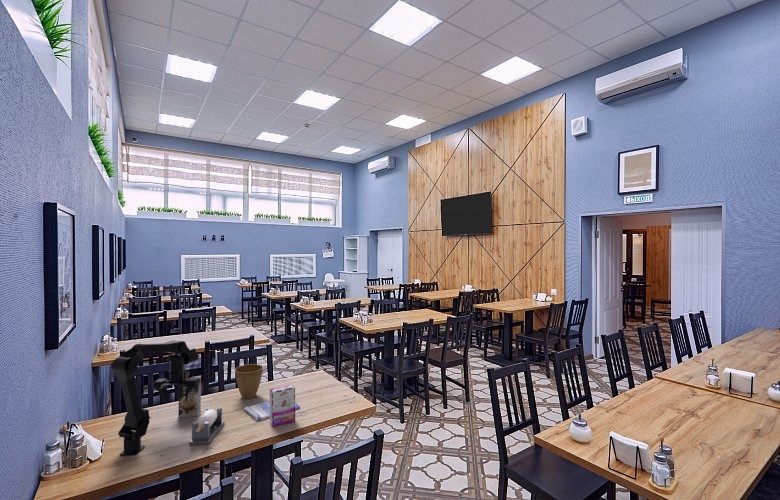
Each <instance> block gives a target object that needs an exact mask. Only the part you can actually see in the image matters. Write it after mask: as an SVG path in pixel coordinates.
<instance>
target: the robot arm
mask: <svg viewBox="0 0 780 500" xmlns="http://www.w3.org/2000/svg"><path fill="white" fill-rule="evenodd" d="M154 353H155V354H157V353H169V355H168V356H167V357H166V358H165V361H169V371H167V372H168V375H169V379H168V378H158V379H157V380H155V381H153V383H152V389H155V391H157V392H158V393H159V395H160V396H161V397H162V399H163V401H164V402H165V403H167V402H168V387H169V386H179V385H186V386H187V388H185V392H186V401H188V399H189V396H190V394H191V391H192V389H193V388H194V387H196V386H197V385H198V384H199V383H200V380H201V379H200V377H190V378H189V376H190V371H189V370H186V368H185V366H186V365H190V364H192V363H195V362H197V361H198V360H199V359H200V358H199V357H200V355H199V353H198V352H197V350H196V348H195V347H191V348H189V347H188V345H187V343H186V341H184V340H174V339H173V340H169V341H165V342H163V343H160V342H159V343H137V344H134V345H133V346H132V347H131V348H129V349H128V350H126V351H124V352H123V353H121V354H120V355H119V356H118V357H116V358H115V359H114V360H113V361H112V363H111V365H110V367H111V368H110V369H111V371H112V372H113V374H114V376H115V377H116V378H117V379H118V380H119V383H120V386H121V392H122V395H123V396H122V397H123V400H124V404H125V409H126V415H125V417H124V420H123V421H124V424H123V425H122V427H121V428H120V429H119V430H118V432H117V434H118V437H119V438H123V450H122V451H121V452H120V453H119V456H134V455H138V454H139V453H140V452H141V451H142V450H143V449H144V448H145V446H146V445H144V444H143V445H142V437H144V436H145V435H146V434H147V431H148V427H149V425H150V420H151V417H150V412H149V409H146V408H142V404H141V399H140V395H139V391H138V386H137V381H136V375H137V372H138V366H139V365H140V364H141V363H142V362H143V360H144V358H145V357H144V356H145V355H146V354H154ZM187 379H188V380H187Z"/></svg>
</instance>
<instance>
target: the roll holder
mask: <svg viewBox="0 0 780 500" xmlns="http://www.w3.org/2000/svg"><path fill="white" fill-rule="evenodd" d="M209 409H212V407H206V408H205V412H206V411H207V410H209ZM216 412H217V419H216V420H215V421H214V422H213V424H212V425H211V426H210V422H205V423H204V430H200V431H199V432H196V429H197V428H198V422H196V421H194V422H193V423H191V439H190V440H189V441H188V446H189V447H190V446H207V445H209V446H210V444H211V442H212V441H213V440H214V438H216V436H217V434H218V433H219V432H220V430H221V429H223V426H224V425H225V420H223V407H220V406H219V407H217V408H216Z"/></svg>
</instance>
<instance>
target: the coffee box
mask: <svg viewBox="0 0 780 500" xmlns="http://www.w3.org/2000/svg"><path fill="white" fill-rule="evenodd" d="M185 388H187V386H186V385H178V411H177V412H178V413H177V414H178V416H177V418H190V417H198V416H199V415H200V414H201V411H202V409H201V408H202V407H201V405H202V403H201V402H202V401H201V400H202V379H200V383H199V384H198V385H197V386H196V387H194V388H193V389H192V391H191V394H190V396H189V399H188V401H186V392H185Z"/></svg>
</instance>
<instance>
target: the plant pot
mask: <svg viewBox="0 0 780 500" xmlns="http://www.w3.org/2000/svg"><path fill="white" fill-rule="evenodd" d="M263 368H264V366H263V365H260V364H255V363H250V364H248V363H247V364H244V365H240V366H237V367H235V369H234V374H235V380H236V381H235V382H236V384H237V385H236V386H237V388H238V391H239V394H240V396H241V398H242V399H247V400H248V399H253V398H255V397H256V395H257V393H258V390H259V388H260V385H261V382H262V381H261V380H262V376H263V372H264V371H263Z"/></svg>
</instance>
